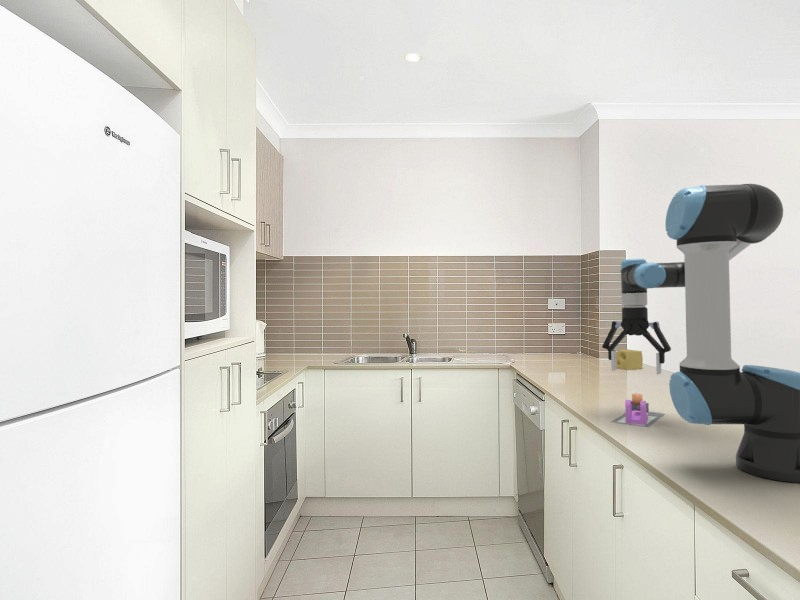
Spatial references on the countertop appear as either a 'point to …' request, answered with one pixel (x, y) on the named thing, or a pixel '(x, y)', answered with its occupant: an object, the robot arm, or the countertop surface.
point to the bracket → (636, 413)
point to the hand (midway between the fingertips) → (635, 371)
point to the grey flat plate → (651, 419)
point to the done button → (636, 399)
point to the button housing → (637, 407)
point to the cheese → (629, 359)
